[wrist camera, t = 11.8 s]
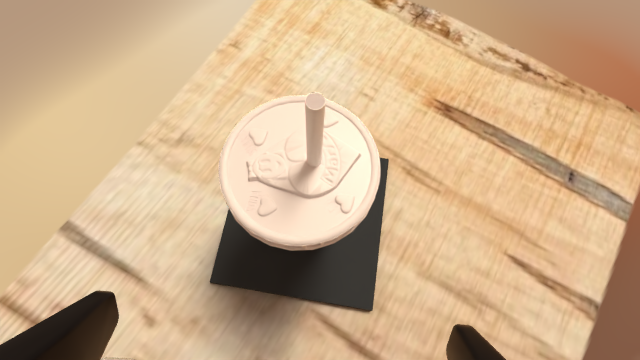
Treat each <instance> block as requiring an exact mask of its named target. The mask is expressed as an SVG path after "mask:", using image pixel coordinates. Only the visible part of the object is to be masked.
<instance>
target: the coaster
mask: <svg viewBox="0 0 640 360" xmlns="http://www.w3.org/2000/svg"><path fill="white" fill-rule="evenodd" d="M380 167H381V169H380V182H379V186H378V190H377V193H376V196H375V199H374V201H373V203H372V205H371V207H370V209H369V211H368V214H367V216H366V217H365V218H364V219H363V220H362V222H361V223H360V224H359V225H358V226H357V227H356V228H355V229H354V230H353V231H352V232H351V233H350V234H348V235H347V236H345V237H343V238H342V239H340V240H339V241H337V242H335V243H334V244H331V245H327V246H324V247H321V248H318V249H314V250H295V251H290V250H286V249H282V248H278V247H273V246H269V245H268V244H266V243H264V242H262V241H260V240H259V239H257V238H255V237H253V236H251V235H250V234H249V233H248V232H247V231H246V230H245V229H244V228H243V227H242V226H241V225H240V224H239V223H238V222H237V221H236V220H235V218H234V216H233V214H232V212H231V211H230V209H229V210H228V214H227V218H226V222H225V225H224V229H223V233H222V237H221V241H220V245H219V248H218V252H217V256H216V260H215V264H214V268H213V272H212V275H211V279H210V283H216V284H222V285H228V286H233V287H239V288H245V289H250V290H256V291H262V292H267V293H273V294H279V295H285V296H290V297H296V298H302V299H307V300H313V301H319V302H325V303H330V304H336V305H342V306H347V307H353V308H359V309H365V310H370V311H372V309H373V300H374V291H375V281H376V272H377V263H378V253H379V244H380V235H381V225H382V216H383V207H384V197H385V188H386V179H387V170H388V159H385V158H380Z"/></svg>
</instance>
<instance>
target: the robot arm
mask: <svg viewBox="0 0 640 360" xmlns="http://www.w3.org/2000/svg"><path fill="white" fill-rule="evenodd" d="M118 319H119V313H118V308H117V303H116V298H115V295H114V293H113V292H109V291H95V292H93V293H91V294H89V295H88V296H86V297H84V298H82V299H81V300H79V301H77V302H75V303H73V304H72V305H70V306H68V307H66V308H65V309H63V310H61V311H59V312H58V313H56V314H54V315H52V316H51V317H49V318H47V319H45V320H44V321H42V322H40V323H38V324H36V325H35V326H33V327H31V328H29V329H28V330H26V331H24V332H22V333H21V334H19V335H17V336H15V337H14V338H12V339H10V340H8V341H7V342H5V343H3V344H1V345H0V360H100V359H101V357H102V355H103V353H104V351H105V348H106V346H107V344H108V342H109V340H110V338H111V336H112V334H113V332H114V330H115V328H116V325H117V323H118ZM446 353H447V359H448V360H506V359H505V358H504V357H503V356H502V355H501V354H500V353H499V352H498V351H497V350H496V349H495V348H494V347H493V346H492V345H491V344H490V343H489V342H488V341H487V340H485V339H484V338H483V337H482V336H481V335H480V334H479V333H478V332H477V331H476V330H475V329H474V328H473V327H472V326H469V325H460V324H456V325H455V326H454V327H453V329H452V332H451V335H450V338H449V341H448V344H447V348H446Z"/></svg>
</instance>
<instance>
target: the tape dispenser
mask: <svg viewBox="0 0 640 360" xmlns="http://www.w3.org/2000/svg"><path fill="white" fill-rule="evenodd" d="M101 360H134V359H128V358H108V357H103V358H102V359H101Z"/></svg>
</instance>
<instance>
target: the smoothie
mask: <svg viewBox="0 0 640 360" xmlns="http://www.w3.org/2000/svg"><path fill="white" fill-rule="evenodd" d="M380 169H381V167H380V158H379V153H378V150H377V146H376V144H375V141H374V139H373V137H372V135H371V133H370V132H369V130H368V129H367V127H366V126H365V125H364V124H363V122H362V121H361V120H360V119H359V118H358V117H357V116H356V115H354V114H353V113H352V112H351V111H349V110H348V109H346V108H345V107H343V106H341V105H340V104H337V103H335V102H333V101H330V100H328V99H325V97H324V96H323V95H322V94H321V93H318V92H312V93H310V94H308V95H292V96H285V97H280V98H276V99H273V100H270V101H268V102H265V103H263V104H261V105H259V106H258V107H256V108H254V109H253V110H251V111H250V112H248V113H247V114H246V115H245V116H244V117H243V118H242V119H241V120H240V121H239V122H238V123H237V124H236V125H235V126H234V128H233V129H232V130H231V132H230V133H229V135H228V137H227V139H226V141H225V143H224V146H223V148H222V152H221V155H220V161H219V182H220V187H221V191H222V194H223V197H224V199H225V201H226V204H227V205H228V207H229V209H230V211H231V212H232V214H233V216H234V218H235V220H236V221H237V222H238V223H239V224H240V225H241V226H242V227H243V228H244V229H245V230H246V231H247V232H248V233H249V234H250V235H251V236H253V237H255V238H257V239H259V240H260V241H262V242H264V243H266V244H268V245H269V246H273V247H278V248H282V249H286V250H290V251H295V250H314V249H318V248H321V247H324V246H327V245H331V244H334V243H335V242H337V241H339V240H340V239H342V238H343V237H345V236H347V235H348V234H350V233H351V232H352V231H353V230H354V229H355V228H356V227H357V226H358V225H359V224H360V223H361V222H362V220H363V219H364V218H365V217H366V216H367V214H368V211H369V209H370V207H371V205H372V203H373V201H374V199H375V196H376V193H377V190H378V186H379V182H380Z"/></svg>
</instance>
